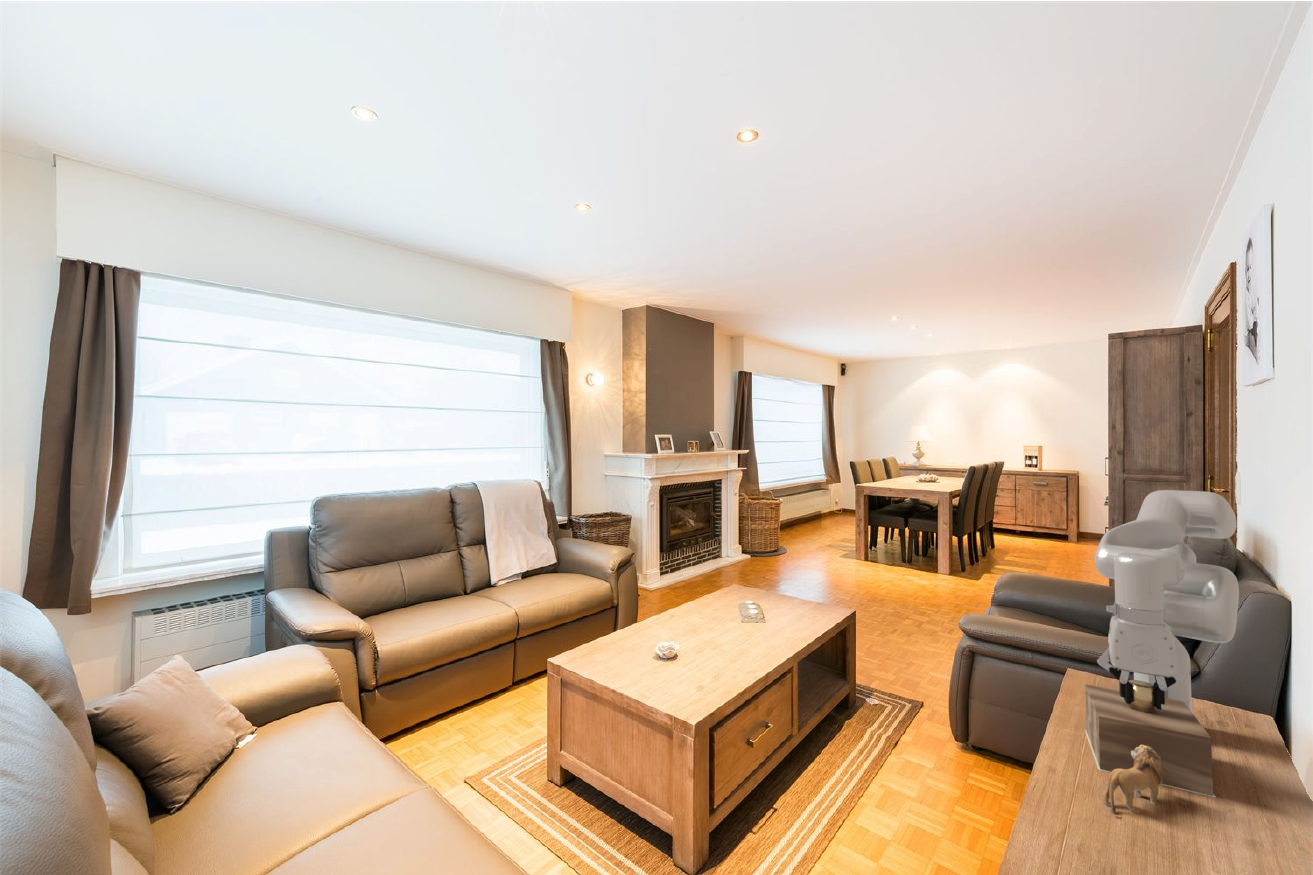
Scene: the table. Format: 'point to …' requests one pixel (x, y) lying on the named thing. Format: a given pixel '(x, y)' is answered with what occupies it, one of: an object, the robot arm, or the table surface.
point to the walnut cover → (1149, 735)
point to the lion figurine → (1136, 778)
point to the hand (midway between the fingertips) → (1141, 702)
